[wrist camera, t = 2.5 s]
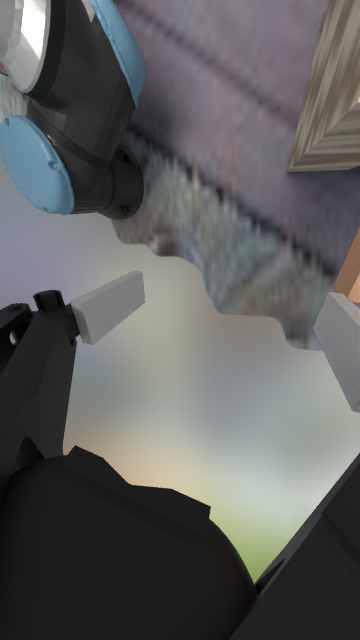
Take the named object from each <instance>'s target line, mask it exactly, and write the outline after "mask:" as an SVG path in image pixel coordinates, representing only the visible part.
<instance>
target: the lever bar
mask: <svg viewBox="0 0 360 640" xmlns="http://www.w3.org/2000/svg"><path fill="white" fill-rule="evenodd" d="M333 289H334V290H335V291H336V292H337V293H343V294H344V295H345V296H346V297H347V298H348V299H349V300H350V301H351V302H357V303H360V227H359V230H358V232H357V234H356V236H355V239H354V241H353V243H352V245H351V248H350V250H349V252H348V254H347V257H346V259H345V261H344V263H343V266H342V268H341V270H340V272H339V274H338V277H337V279H336V281H335V283H334V286H333Z"/></svg>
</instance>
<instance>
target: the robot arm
mask: <svg viewBox="0 0 360 640" xmlns="http://www.w3.org/2000/svg"><path fill="white" fill-rule="evenodd" d="M0 61H1V62H2V64H3V65H4V67H5V69H6V71H7V73H8V74H9V76H10V78H11V80H12V81H13V83H14V85H15V86H16V88H17V89H19V90H20V91H22V92H23V93H24V94H26V95H28V96H29V101H28V107H27V113H26V117H24V116H21V115H14V116H13V115H12V116H9V118H5V119H4V120H3V121H2V123H1V126H0V150H1V154H2V158H3V161H4V164H5V166H6V169H7V171H8V172H9V174H10V176H11V179H12V181H13V182H14V184H15V186H16V187H17V189H18V190H19V191H20V192H21V194H22V195H23V196H24V197H25V198H26V199H27V200H28V201H29V202H30V203H31V204H32V205H34V206H35V207H36V208H38V209H40V210H42V211H44V212H47V213H54V214H62V215H68V214H79V213H94V212H98V213H100V214H102V215H104V216H106V217H108V218H111V219H125V218H128V217H130V216H132V215H133V214H134V213H135V212H136V211H137V210H138V208H139V206H140V204H141V201H142V198H143V190H144V185H143V177H142V173H141V170H140V167H139V165H138V163H137V161H136V159H135V158H134V156H133V155H132V154H131V153H130V152H129V151H128V150H127V149H126V148H124V147H123V146H121V145H119V143H120V141H121V139H122V136H123V134H124V132H125V129H126V127H127V125H128V122H129V120H130V118H131V115H132V113H133V111H134V110H136V108H137V105H138V99H139V96H140V94H141V91H142V89H143V86H144V83H145V80H146V64H145V60H144V57H143V55H142V52H141V50H140V48H139V46H138V44H137V42H136V40H135V38H134V36H133V34H132V32H131V31H130V29H129V27H128V25H127V24H126V22H125V20H124V19H123V17H122V15H121V13H120V12H119V10H118V8H117V7H116V5H115V4H114V2H113V0H0ZM33 297H34V300H35V302H36V305H37V307H38V311H37V312H36V311H31V309H30V307H29V305H28V304H26V303H20V304H18V303H16V304H11V305H9V306H7V307H5V308H3V309H1V310H0V640H360V453H359V454H358V456H357V457H356V458H355V460H354V461H353V462H352V463H351V464H350V466H349V467H348V469H347V470H346V471H345V472H344V473H343V475H342V476H341V477H340V478H339V480H338V481H337V482H336V483H335V485H334V486H333V487H332V488H331V490H330V491H329V492H328V494H327V495H326V496H325V497H324V498H323V500H322V501H321V502H320V504H319V505H318V506H317V507H316V509H315V510H314V511H313V512H312V514H311V515H310V516H309V517H308V519H307V520H306V521H305V522H304V524H303V525H302V526H301V527H300V529H299V530H298V531H297V533H296V534H295V535H294V536H293V538H292V539H291V540H290V541H289V543H288V544H287V545H286V546H285V548H284V549H283V550H282V551H281V552H280V554H279V555H278V556H277V557H276V558H275V559H274V560H273V562H272V563H271V564H270V565H269V566H268V568H267V569H266V570H265V571H264V572H263V574H262V575H261V576H260V577H259V579H258V580H257V581H256V582H255V584H254V583H253V580H252V578H251V576H250V574H249V572H248V570H247V568H246V566H245V564H244V562H243V560H242V559H241V557H240V555H239V554H238V552H237V550H236V549H235V547H234V546H233V544H232V543H231V542H230V540H229V539H228V537H227V536H226V535H225V534H224V533H223V532H222V531H221V529H220V528H219V527H218V526H217V525H216V524H215V523H214V522H213V521H211V520H210V519H209V515H210V509H211V506H208V505H206V504H204V503H202V502H200V501H197V500H195V499H193V498H191V497H188V496H186V495H184V494H182V493H179V492H177V491H175V490H173V489H168V488H158V487H147V486H137V485H131V484H129V483H127V482H126V481H125V480H124V479H123V478H122V477H121V476H120V475H119V474H118V473H117V472H116V471H115V470H114V469H113V468H112V467H111V466H110V465H109V464H108V463H107V462H106V461H105V460H104V458H102V457H100V456H98V455H95V454H93V453H91V452H89V451H86V450H84V449H82V448H80V447H78V446H76V445H75V446H74V447H73V448H72V450H71V451H70V453H69V454H68V455H63V438H64V431H65V424H66V417H67V410H68V403H69V396H70V388H71V381H72V375H73V368H74V360H75V353H76V346H77V341H76V338H75V337H77V336H78V335H80V336H81V339H82V342H83V343H87V344H91V345H93V344H94V343H95V342H97V341H98V340H99V339H101V338H102V337H103V336H104V335H106V333H108V332H109V331H110V330H112V329H113V328H114V327H115V326H116V325H118V324H119V323H120V322H122V321H123V320H124V319H125V318H126V317H128V316H129V315H130V314H131V313H132V312H134V311H135V310H136V309H137V308H139V307H140V306H141V305H142V304H143V303H145V295H144V286H143V275H142V272H141V271H133V272H131V273H128V274H126V275H124V276H122V277H120V278H118V279H116V280H114V281H112V282H110V283H108V284H106V285H103V286H101V287H99V288H97V289H95V290H93V291H91V292H89V293H87V294H85V295H83V296H81V297H79V298H77V299H74V300H73V301H70V304H68V305H66V306H65V304H64V301H63V298H62V295H61V292H60V291H58V290H49V291H43V292H39V293H37V294H35V295H34V296H33ZM313 330H314V333H315V335H316V337H317V339H318V341H319V343H320V345H321V347H322V349H323V351H324V353H325V355H326V358H327V360H328V362H329V364H330V366H331V368H332V370H333V372H334V374H335V376H336V378H337V380H338V382H339V384H340V387H341V389H342V391H343V393H344V395H345V397H346V399H347V401H348V403H349V405H350V407H351V409H352V411H355V412H359V413H360V309H359V308H358V307H357V306H356V305H355V304H353V303H352V302H351V301H350V300H349V299H348V298H347V297H346V296H345V295H344V294H343V293H333V292H328V294H327V297H326V299H325V301H324V304H323V306H322V308H321V311H320V313H319V316H318V318H317V320H316V323H315V325H314V328H313ZM10 334H12V335H13V338H14V340H15V341H16V342H15V343H14V344H12V343H11V341H10Z"/></svg>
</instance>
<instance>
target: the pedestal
mask: <svg viewBox="0 0 360 640" xmlns="http://www.w3.org/2000/svg"><path fill="white" fill-rule="evenodd" d="M357 166H360V0H329V1H328V4H327V7H326V9H325V12H324V15H323V19H322V24H321V28H320V32H319V36H318V41H317V45H316V49H315V53H314V58H313V62H312V66H311V70H310V74H309V79H308V83H307V87H306V91H305V96H304V100H303V104H302V108H301V113H300V117H299V121H298V125H297V130H296V134H295V138H294V142H293V147H292V151H291V155H290V159H289V164H288V168H287V172H304V171H333V170H349V169H352V168H355V167H357Z"/></svg>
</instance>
